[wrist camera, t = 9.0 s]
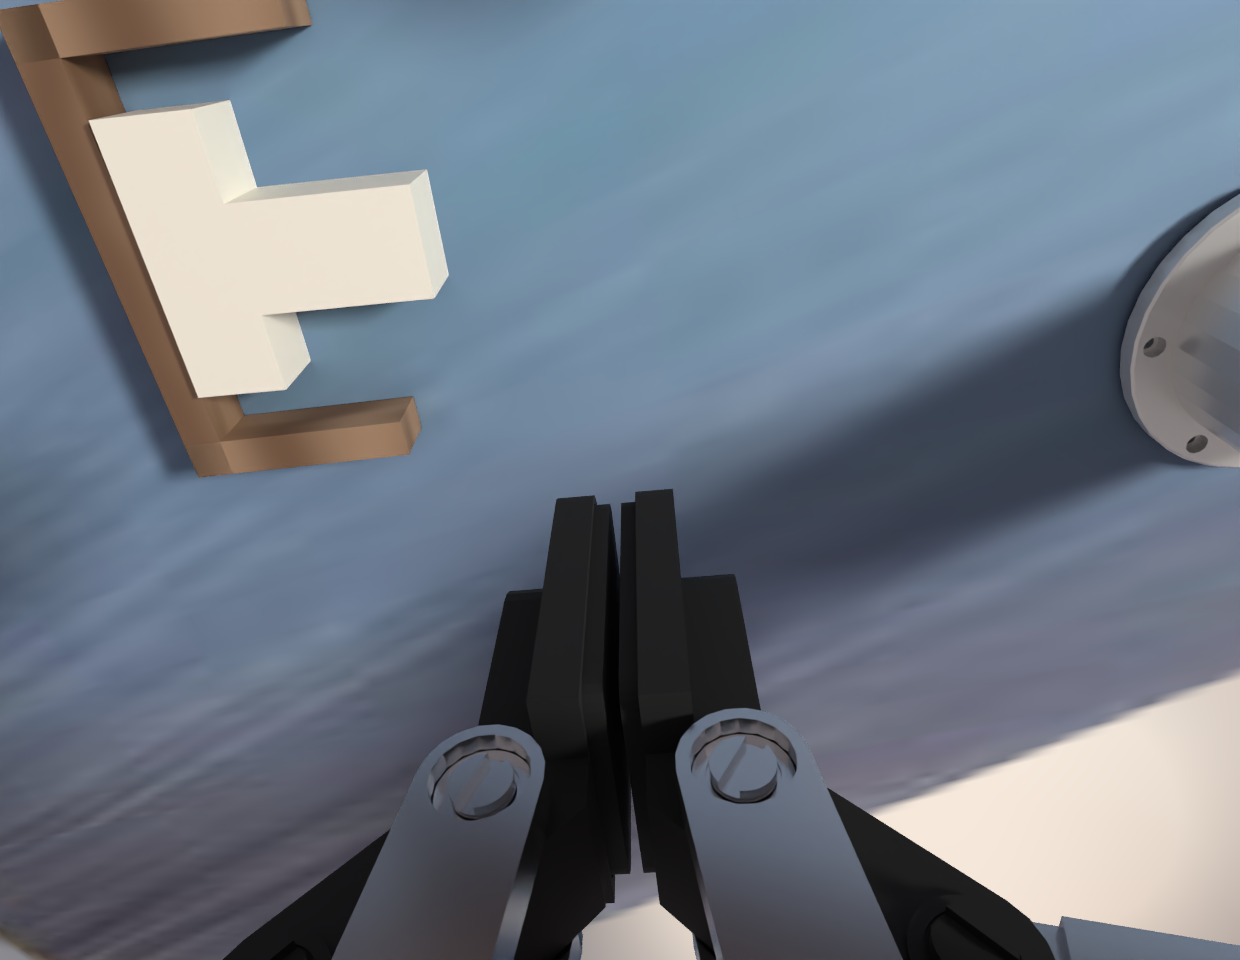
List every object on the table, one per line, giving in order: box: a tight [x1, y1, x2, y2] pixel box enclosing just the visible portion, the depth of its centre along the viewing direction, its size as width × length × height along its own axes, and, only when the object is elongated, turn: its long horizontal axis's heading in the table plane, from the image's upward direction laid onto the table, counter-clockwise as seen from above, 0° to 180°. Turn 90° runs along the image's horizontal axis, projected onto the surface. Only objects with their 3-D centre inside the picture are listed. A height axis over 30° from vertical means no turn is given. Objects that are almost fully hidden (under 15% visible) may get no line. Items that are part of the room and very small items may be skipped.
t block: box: [89, 100, 449, 398], centre depth 30 cm, size 10×10×3 cm
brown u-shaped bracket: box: [0, 0, 422, 477], centre depth 30 cm, size 9×17×2 cm, turn 7°
